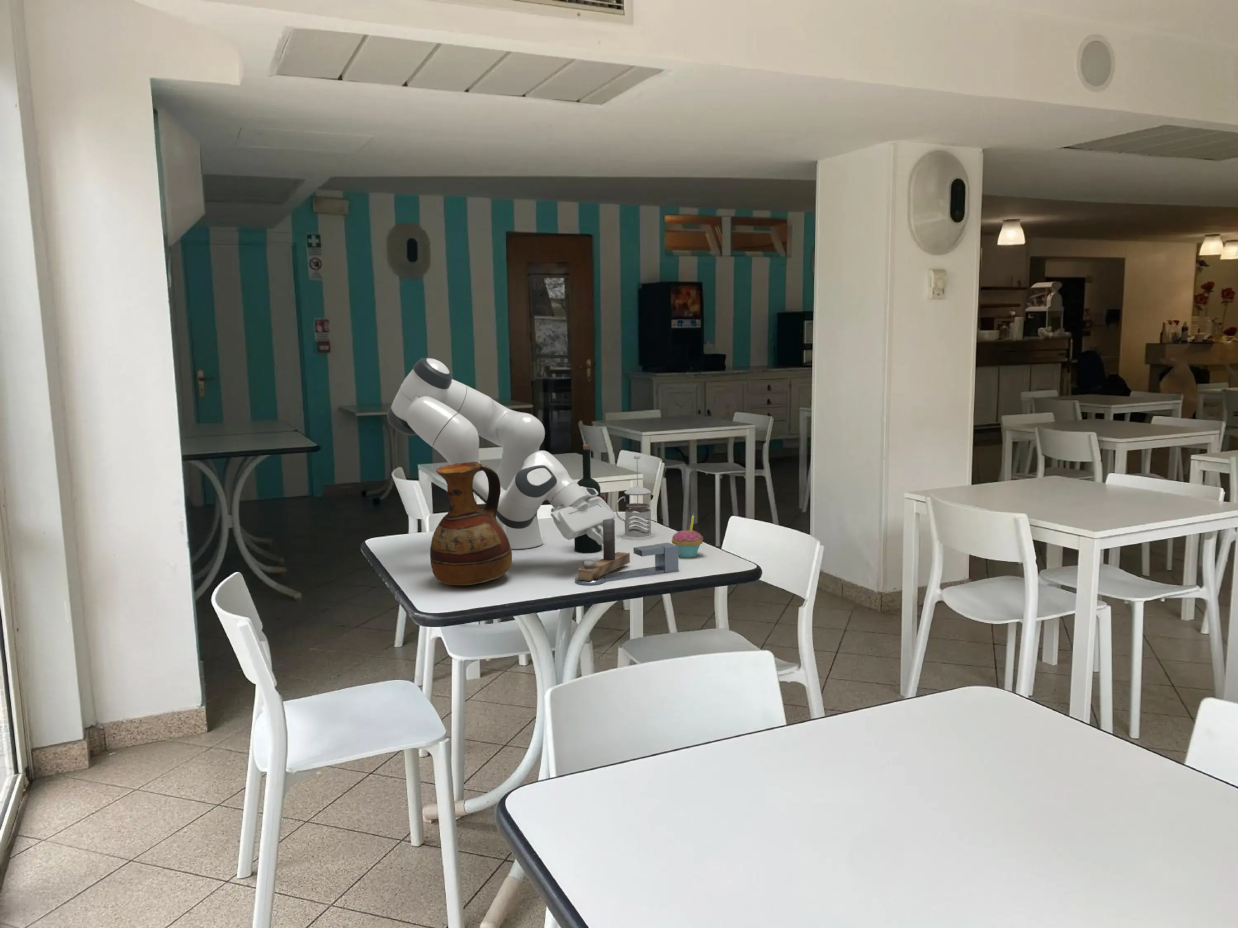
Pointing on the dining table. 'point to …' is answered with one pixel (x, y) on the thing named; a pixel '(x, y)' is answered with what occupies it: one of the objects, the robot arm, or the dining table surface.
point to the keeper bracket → (663, 563)
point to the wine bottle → (584, 541)
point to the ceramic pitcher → (469, 531)
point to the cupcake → (687, 541)
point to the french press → (637, 514)
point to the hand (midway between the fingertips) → (603, 542)
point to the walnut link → (604, 556)
